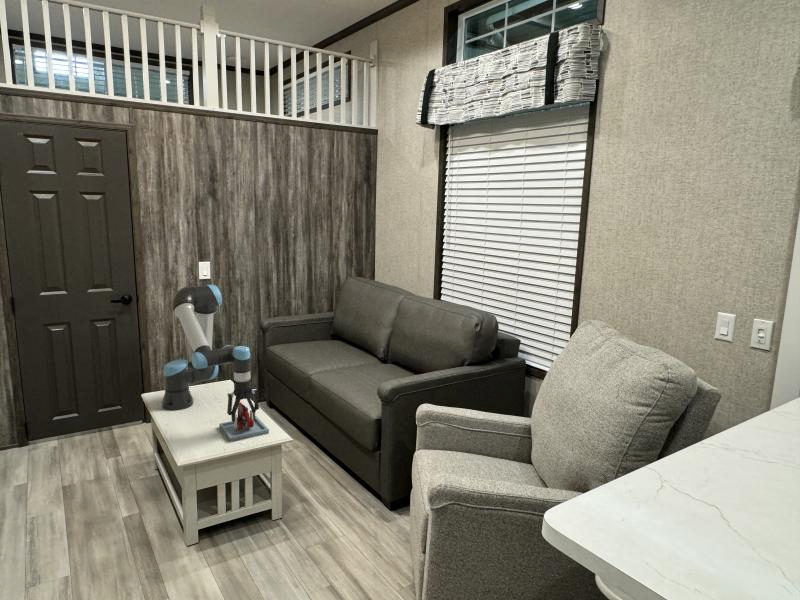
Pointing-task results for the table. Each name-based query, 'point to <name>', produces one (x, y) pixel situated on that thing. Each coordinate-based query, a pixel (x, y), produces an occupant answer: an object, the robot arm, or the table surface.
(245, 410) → the toy fire truck
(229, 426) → the tray
